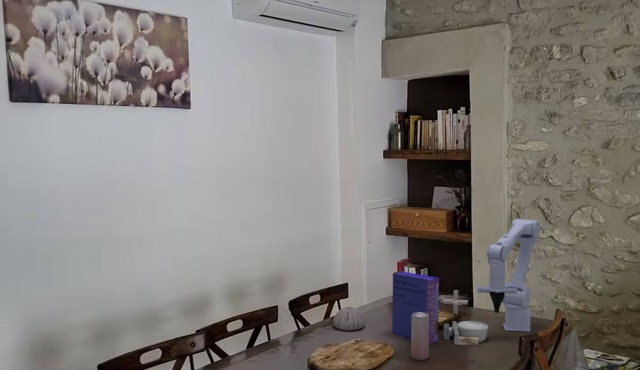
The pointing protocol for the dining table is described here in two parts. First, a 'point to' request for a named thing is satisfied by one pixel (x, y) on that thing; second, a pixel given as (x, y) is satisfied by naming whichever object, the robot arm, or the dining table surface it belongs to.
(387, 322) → the dining table surface
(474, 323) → the ramekin
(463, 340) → the pair of beige bars
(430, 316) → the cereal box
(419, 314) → the beverage can
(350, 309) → the sea urchin shell
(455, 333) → the grey h-shaped piece
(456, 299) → the pipe connector
